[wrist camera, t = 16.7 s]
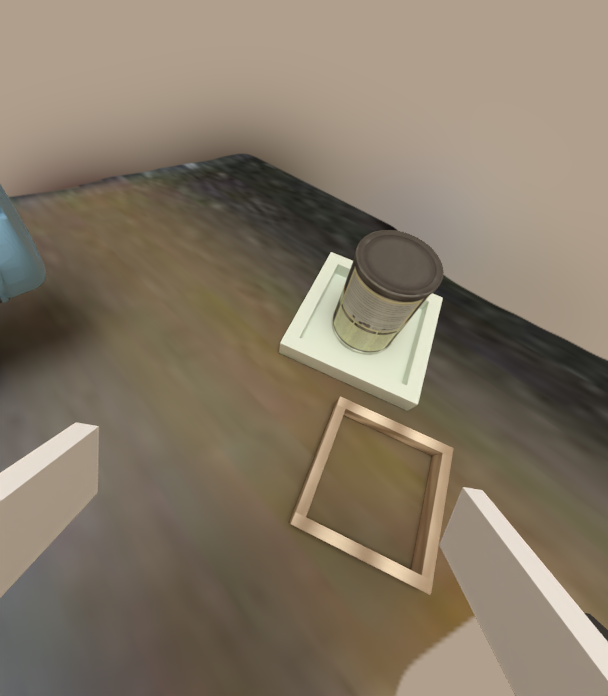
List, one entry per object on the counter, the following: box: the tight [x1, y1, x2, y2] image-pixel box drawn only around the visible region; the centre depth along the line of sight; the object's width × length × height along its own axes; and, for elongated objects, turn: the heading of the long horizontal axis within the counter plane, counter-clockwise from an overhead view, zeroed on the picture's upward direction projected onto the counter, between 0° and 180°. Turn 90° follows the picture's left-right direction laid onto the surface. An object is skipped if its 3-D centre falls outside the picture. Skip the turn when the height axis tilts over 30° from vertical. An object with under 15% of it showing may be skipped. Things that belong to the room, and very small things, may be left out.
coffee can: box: [332, 230, 443, 355], centre depth 39 cm, size 10×10×14 cm
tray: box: [279, 252, 443, 411], centre depth 44 cm, size 20×20×3 cm
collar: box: [289, 397, 453, 595], centre depth 34 cm, size 15×15×2 cm
